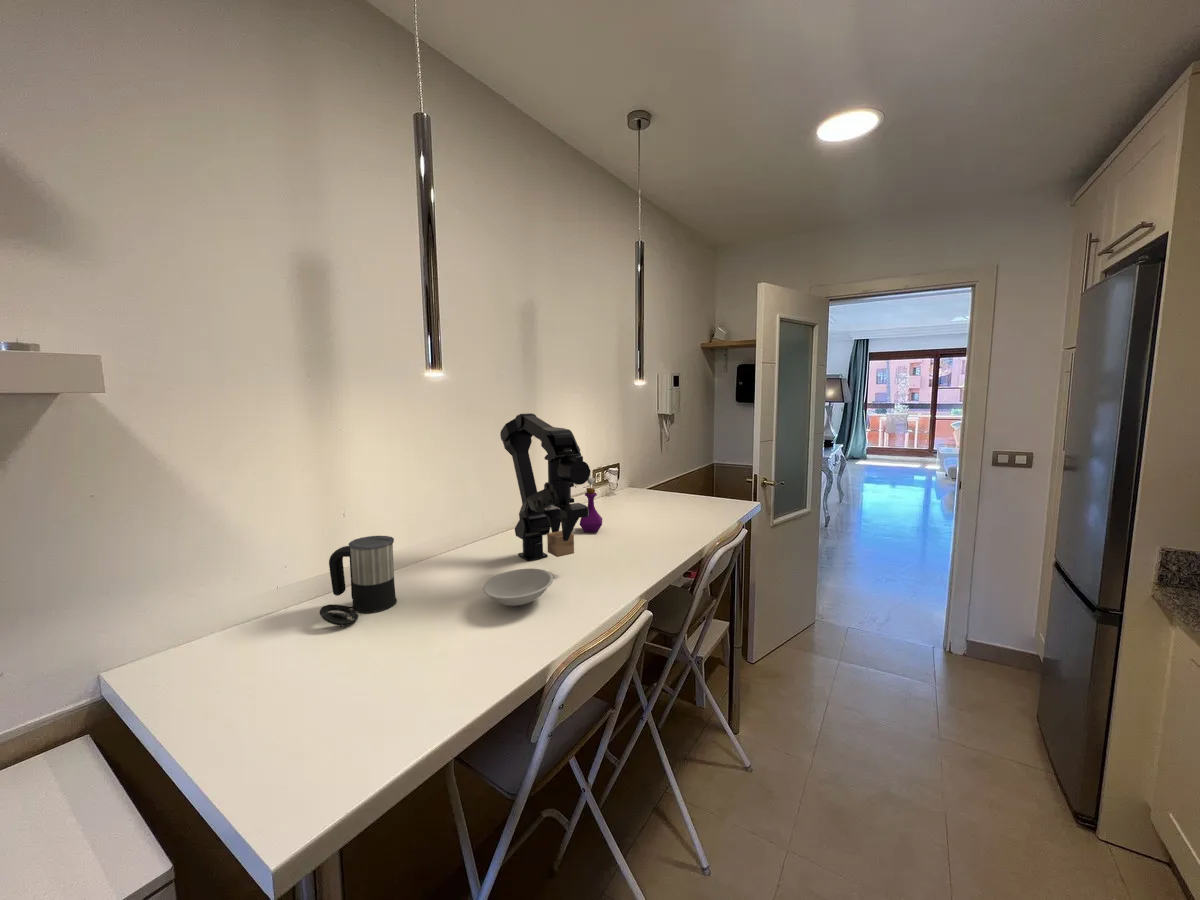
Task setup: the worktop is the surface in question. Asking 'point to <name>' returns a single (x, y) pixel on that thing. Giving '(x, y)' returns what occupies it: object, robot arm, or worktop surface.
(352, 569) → the milk frother
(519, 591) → the dish
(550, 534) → the walnut block
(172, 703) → the worktop surface
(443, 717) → the worktop surface
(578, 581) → the worktop surface
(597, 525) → the perfume bottle
